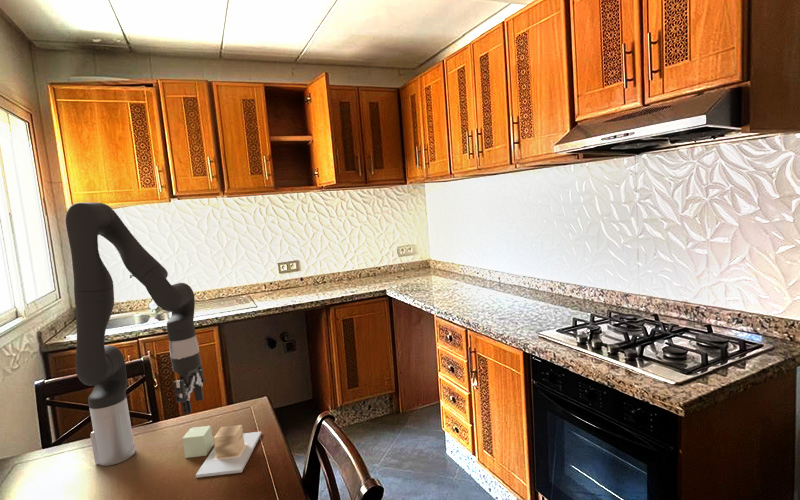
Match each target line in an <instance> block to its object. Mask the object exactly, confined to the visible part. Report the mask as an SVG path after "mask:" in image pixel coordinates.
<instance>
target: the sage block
mask: <svg viewBox="0 0 800 500" xmlns="http://www.w3.org/2000/svg"><path fill="white" fill-rule="evenodd" d="M181 439H182V445H183V452H184V453H183V454H184V458H185V459H188V458H197V457H198V458H199V457H205V456H207V455H209V453H210V451H211V449H213V447H214V446H215V445H214V435H213V429H212V425H206V426H204V425H203V426H195V427H190V428H189V430H187V432H186V433H185V435H183V437H182V438H181Z"/></svg>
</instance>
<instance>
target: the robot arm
mask: <svg viewBox="0 0 800 500" xmlns="http://www.w3.org/2000/svg"><path fill="white" fill-rule="evenodd" d="M65 226H66V232H67V239H68V242H69V247H70V248H69V249H70V254H71V265H72V272H73V273H72V274H73V292H74V293H73V295H74V296H73V297H74V307H75V323H76V324H75V325H76V350H75V361H74V363H75V365H74V366H75V374H76V376H77V378H78V379H79V381H80V382H81V383H82V384H83V385H86V386H87V387H88V386H89V387H93V390H92V391H91V393H90V394H89V396H88V398H87V402H88V403H87V404H88V407H89V408H88V409H89V414H90V419H91V425H92V426H91V427H92V431H91V432H90V435H89V436H90V441H91V447H92V451H93V459H94V464H95V465H100V466H102V467H104V466H105V467H108V466H113V465H116V464H120V463H122V462H125V461H126V460H128V459H130V458H132V457H133V456H134V455H135V453H136V447H135V442H134V436H133V429H132V424H131V417H130V410H129V405H128V399H127V398H128V397H127V393H126V392H127V390H128V389H127V388H128V378H127V377H128V375H127V367H126V361H125V357H124V355H123V353H122V351H121V349H119V348H118V347H116V346H115V345H111V344H110V345H105V335H106V330H107V327H108V324H109V322H110V319H111V317H112V313H113V309H114V305H115V292H114V291H115V289H114V288H115V287H114V281H113V278H112V275H111V273H110V271H109V270H108V269H107V268H108V267H106V265H105V263H104V261H103V259H102V258H101V255H100V252H99V239H98V237H99V236H100V237H103V239H106V241H108V242H110V243H111V244H112V245H113V246H114V248H115V249H116V250H117V252H118V254H119V256H120V258H121V260H122V263H123V265H124V267H125V268H126V269H127V272H129V274H131V275H132V276H133V277H134V278H135V279H137V281H138V282H140V283H141V285H143V286H144V287H145V289H146V291H147V292H148V294H149V295H150V298H151V299H152V301H153V302H154V303H155V305H156V306H158V308H160V309H162V310H163V311H166V312H171V317H169V318H170V319H168V321H167V322H166V330H167V338H168V343H169V344H168V348H169V349H168V350H169V354H170V361H171V368H172V372H174V373H176V374H178V380H174V381H173V389H174V390H173V391H174V397H175V402H176V403H181V404H180V405H181V410H182V414H183V415H188V414H191V413H192V411H193V410H192V405H191V399H190V398H191V393H192V392H193V395H194V401H197V402H198V401H203V400H204V393H203V386H204V384H203V383H205V382H206V381H205V374H204V369H203V365H202V360H201V358H202V357H201V354H200V353H201V352H200V347H199V341H198V338H197V333H196V328H195V322H194V316H195V308H196V307H195V305H196V302H195V300H196V298H195V294H194V291H193V289H192V287H191V286H190V285H188V284H187V283H185V282H177V283H174V284H171V282H169V281H168V279H167V278H168V276H169V274H168V271H167V269H166V268H165V267H164V266H163V265H162V263H160V262H159V261H158V260H157V259H156V258H154V256H152V255H151V254H150V253H149V252H148V251H147V250H146V248H144V247H143V245H142V244H141V243H140V242H139V241H138V239H136V237H135V236H134V234H132V232H131V231H130V230H129V228H128V227H127V226H126V225H125V223H124V222H123V221H122V219H121V218H120V217H119V215H118V214H117V212H116V211H115V210H114V209H113V208H112V207H111V206H109V205H108V204H106V203H103V202H95V201H94V202H76V203H74V204H72V205H70V206H69V208H68V209H67V211H66V215H65Z"/></svg>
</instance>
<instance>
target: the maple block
mask: <svg viewBox="0 0 800 500" xmlns="http://www.w3.org/2000/svg"><path fill="white" fill-rule="evenodd" d="M243 433H244V431H243V424H238V425H237V424H236V425H229V426H220V428H219V430H218V431H217V432H216V434H215V435H213V442H214V445H213V446H214V447H215V452H216V458H222V457H231V456H238V455H239V453H240V451H241V450H242V448H243V446H244V436H243Z"/></svg>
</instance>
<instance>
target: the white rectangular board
mask: <svg viewBox="0 0 800 500" xmlns="http://www.w3.org/2000/svg"><path fill="white" fill-rule="evenodd" d="M261 435H262V431H253V432H252V431H251V432H245V433H244V432H243V436H244V446H243V448H242V450H241V451H240V453H239V455H238V456H231V457H222V458H216V452H215V446H213V447H212V450H210V451H211V452H209V453H208V456H207V457H206V458H205V461H204V462H203V463H202V465H201V466H200V468H199V469H198V471H197V472H196V474H195V478H205V477H215V476H223V475H231V474H240V473H243V470H244V469H245V467H246V465H247V463H248V461H249V459H250V457H251V455H252V454H253V452H254V449H255V447H256V445H257V444H258V441H259V440H260V438H261Z"/></svg>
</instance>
